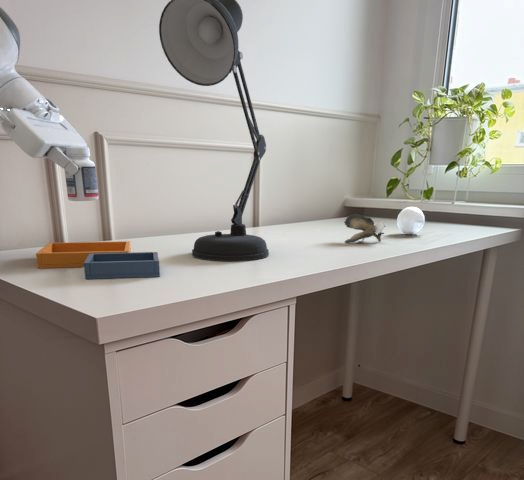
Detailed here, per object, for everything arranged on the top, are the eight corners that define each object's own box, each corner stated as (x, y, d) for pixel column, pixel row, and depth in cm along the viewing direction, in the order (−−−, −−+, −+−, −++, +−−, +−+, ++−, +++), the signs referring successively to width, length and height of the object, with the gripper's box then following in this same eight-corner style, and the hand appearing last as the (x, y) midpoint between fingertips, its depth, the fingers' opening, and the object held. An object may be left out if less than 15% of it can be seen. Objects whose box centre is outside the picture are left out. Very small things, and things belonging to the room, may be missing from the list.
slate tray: (85, 279, 82) (83, 262, 81) (90, 268, 91) (89, 253, 90) (159, 276, 84) (159, 260, 83) (158, 266, 93) (157, 251, 92)
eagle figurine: (374, 234, 131) (340, 227, 130) (385, 211, 126) (350, 204, 124) (378, 254, 127) (343, 248, 125) (390, 232, 121) (354, 224, 119)
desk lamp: (178, 269, 90) (164, -38, 75) (158, 248, 113) (145, 10, 98) (307, 263, 97) (318, -19, 82) (264, 244, 120) (266, 21, 105)
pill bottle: (100, 199, 96) (95, 148, 93) (96, 201, 91) (91, 147, 88) (70, 199, 95) (64, 147, 92) (65, 201, 91) (59, 146, 88)
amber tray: (37, 268, 90) (35, 253, 89) (50, 256, 103) (48, 242, 102) (129, 265, 93) (128, 251, 92) (131, 254, 106) (130, 241, 105)
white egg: (410, 236, 137) (413, 208, 135) (389, 233, 143) (392, 206, 140) (435, 234, 142) (439, 206, 140) (414, 231, 148) (417, 205, 146)
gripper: (0, 88, 78) (71, 158, 81) (57, 103, 97) (112, 159, 100) (-23, 120, 80) (47, 187, 83) (37, 129, 99) (92, 183, 102)
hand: (83, 172), depth 92 cm, fingers closed on pill bottle, 5 cm apart
